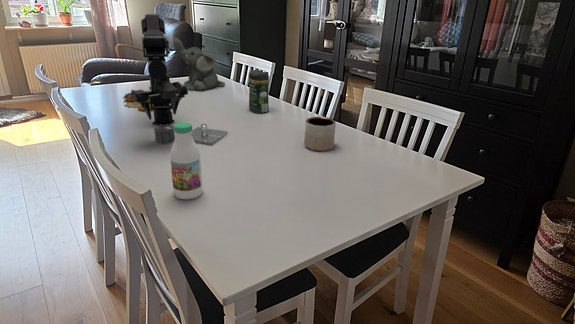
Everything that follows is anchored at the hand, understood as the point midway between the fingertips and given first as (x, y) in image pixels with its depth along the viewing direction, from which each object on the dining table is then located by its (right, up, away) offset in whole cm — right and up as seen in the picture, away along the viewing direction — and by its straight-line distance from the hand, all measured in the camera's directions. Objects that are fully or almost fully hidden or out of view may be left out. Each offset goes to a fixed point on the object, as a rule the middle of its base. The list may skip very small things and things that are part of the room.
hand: (162, 116), depth 137 cm
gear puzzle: (-25, +11, +47) cm, 54 cm away
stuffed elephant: (-3, +25, +77) cm, 81 cm away
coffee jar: (+31, +7, +41) cm, 52 cm away
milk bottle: (+17, -25, -31) cm, 43 cm away
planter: (+56, -11, +4) cm, 57 cm away
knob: (0, -8, +4) cm, 9 cm away
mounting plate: (+13, -7, +8) cm, 17 cm away
